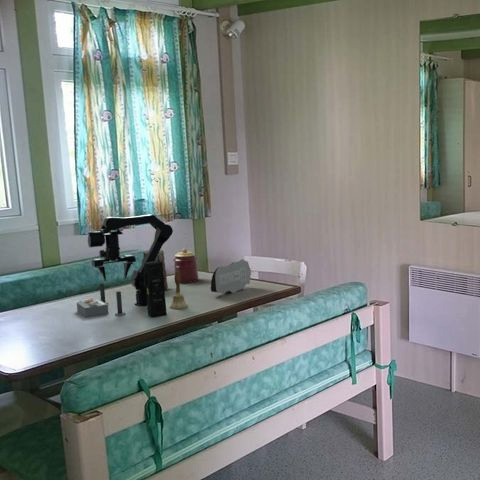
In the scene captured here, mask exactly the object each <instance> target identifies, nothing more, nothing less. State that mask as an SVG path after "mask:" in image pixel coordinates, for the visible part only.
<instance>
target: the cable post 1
mask: <svg viewBox="0 0 480 480" xmlns="http://www.w3.org/2000/svg"><path fill="white" fill-rule="evenodd" d="M99 292H100V293H99V294H100V300H101V301H103V302H104V303H106V304H108V305H109V302H107V301H106V292H105V283H104V282H100V283H99Z"/></svg>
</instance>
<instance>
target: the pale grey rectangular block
mask: <svg viewBox="0 0 480 480" xmlns="http://www.w3.org/2000/svg"><path fill="white" fill-rule="evenodd" d="M88 300H94V298H93V297H92V296H91V297H89V298H86V299H84V301H85V302H86V303H87V302H88Z"/></svg>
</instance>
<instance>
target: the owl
mask: <svg viewBox="0 0 480 480" xmlns="http://www.w3.org/2000/svg"><path fill="white" fill-rule="evenodd" d="M148 252H149V251H143V252H142V255H143V257H142V260H141V264H142V263H143V261H144V259H145V257H146V255H147V253H148ZM158 255H159V259H160V261H161V262H163V276H164V289H165V291H167V292H168V291H169V290H168V288H169V286H168V279H167V278H168V277H167V270H166V263H165V253H164V250H163V249H160V251H159V253H158ZM158 255H157V257H156V259H155V261H158Z"/></svg>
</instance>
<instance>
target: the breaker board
mask: <svg viewBox="0 0 480 480" xmlns="http://www.w3.org/2000/svg"><path fill="white" fill-rule="evenodd" d="M96 300H97V301H98V303H97V304H95V305H92V306H91V305H90V303H89V302H87V303H86V302H85V300H84V301H79V302H78V301H77V302H76V309H77V310H76V311H77V313H79V314H80V313H81V314H80V315H82V316H83V317H85V318H89V317H94V316H95V317H97V316H103V315H107V314H109V303H108V304H106V303H104V302H103V301H101V299H96Z"/></svg>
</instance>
